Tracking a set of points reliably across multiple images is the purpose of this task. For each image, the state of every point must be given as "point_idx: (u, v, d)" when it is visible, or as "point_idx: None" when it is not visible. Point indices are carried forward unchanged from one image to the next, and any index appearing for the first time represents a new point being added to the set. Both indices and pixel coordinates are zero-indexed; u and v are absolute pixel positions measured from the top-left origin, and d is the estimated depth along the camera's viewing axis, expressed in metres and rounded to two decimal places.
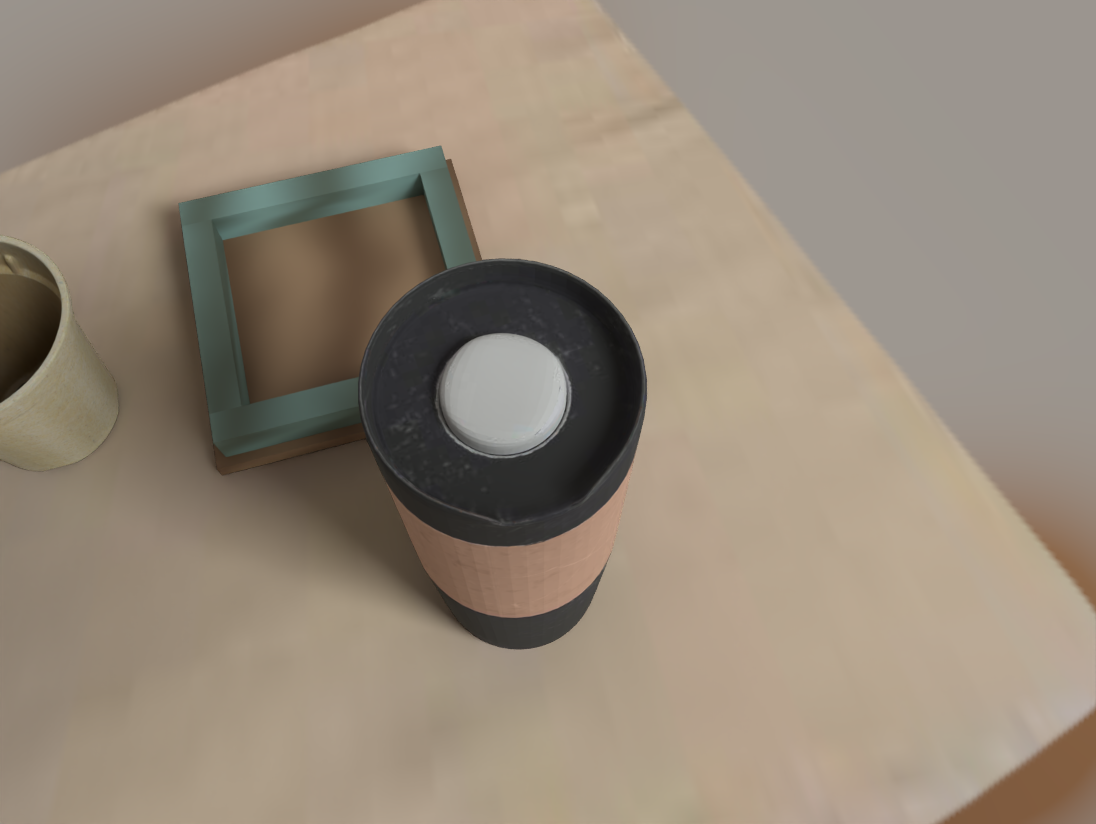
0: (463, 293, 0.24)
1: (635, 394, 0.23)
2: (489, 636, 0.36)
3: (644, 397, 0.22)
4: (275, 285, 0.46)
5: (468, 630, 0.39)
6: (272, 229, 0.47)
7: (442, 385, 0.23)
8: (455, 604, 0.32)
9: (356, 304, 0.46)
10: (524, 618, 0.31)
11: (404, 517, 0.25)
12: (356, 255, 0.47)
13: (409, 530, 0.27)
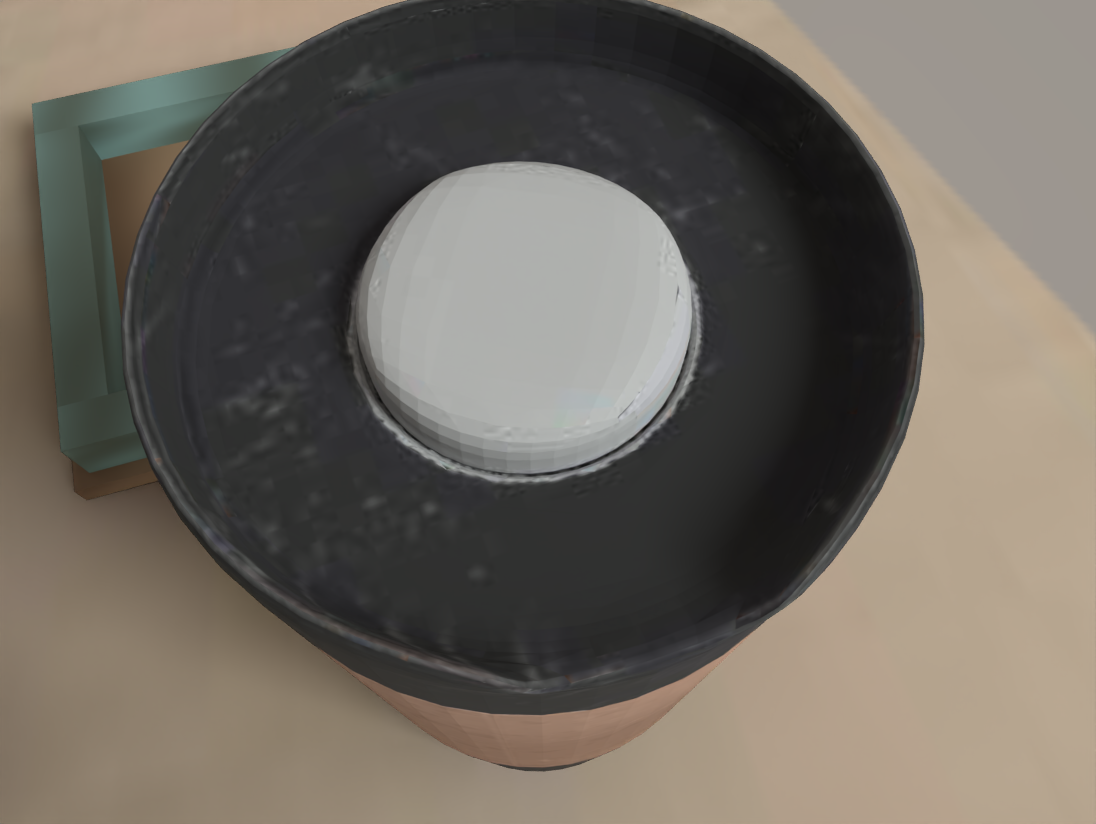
0: (423, 83, 0.10)
1: (874, 308, 0.09)
2: None
3: (922, 308, 0.08)
4: None
5: None
6: (173, 145, 0.33)
7: (361, 291, 0.09)
8: None
9: None
10: (558, 765, 0.17)
11: None
12: None
13: None
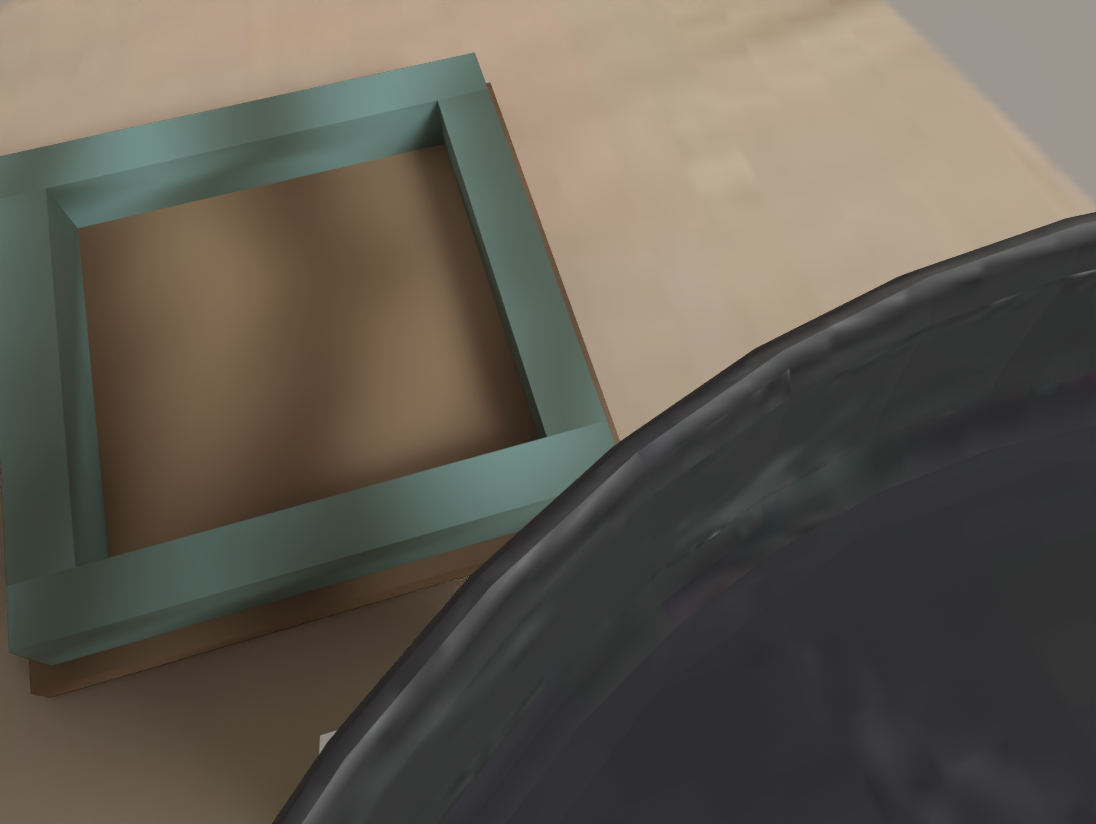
0: (931, 467, 0.03)
1: None
2: None
3: None
4: (171, 311, 0.25)
5: None
6: (169, 209, 0.26)
7: None
8: None
9: (321, 344, 0.24)
10: None
11: None
12: (322, 253, 0.25)
13: None
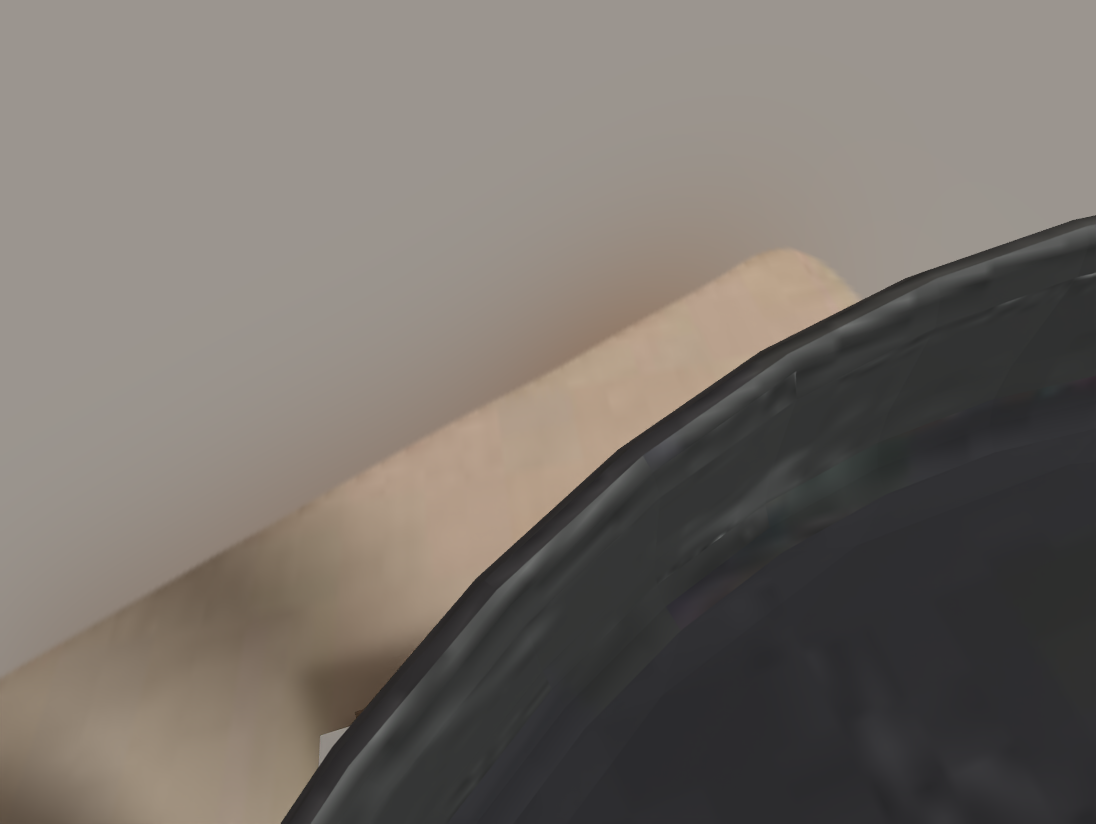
0: (935, 470, 0.03)
1: None
2: None
3: None
4: None
5: None
6: None
7: None
8: None
9: None
10: None
11: None
12: None
13: None
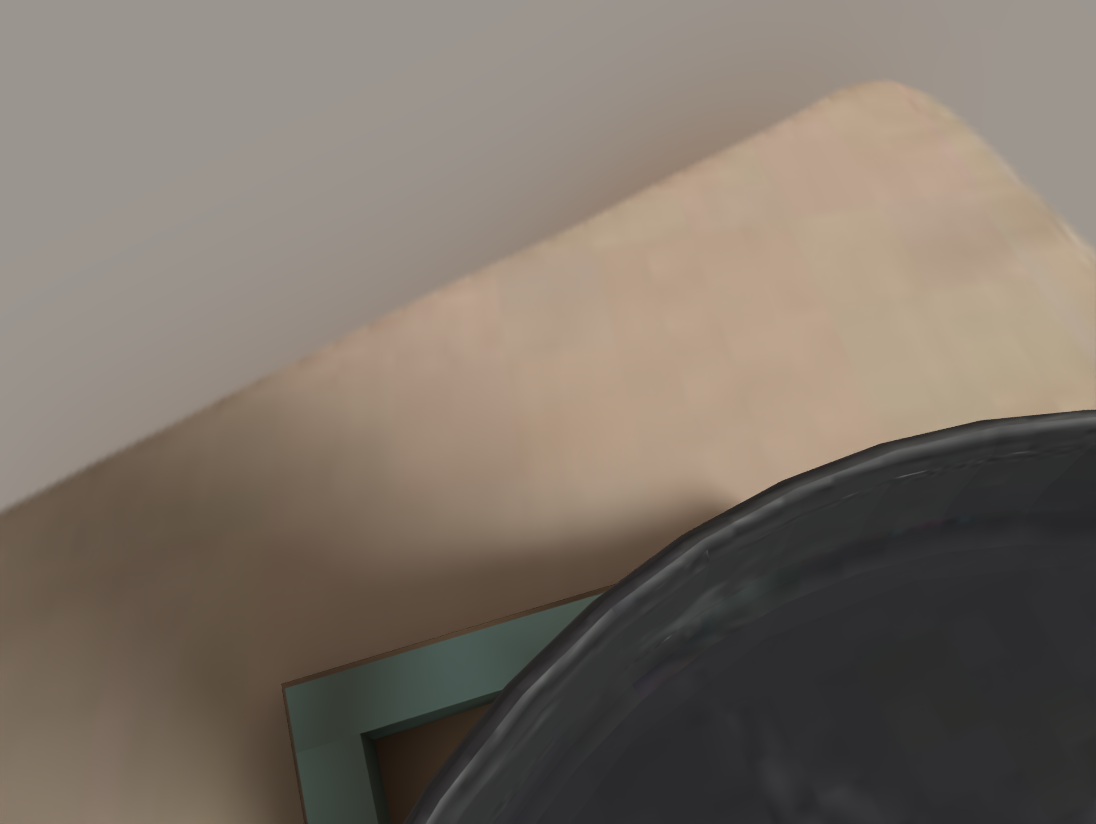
0: (819, 586, 0.04)
1: None
2: None
3: None
4: None
5: None
6: (477, 710, 0.22)
7: None
8: None
9: None
10: None
11: None
12: None
13: None
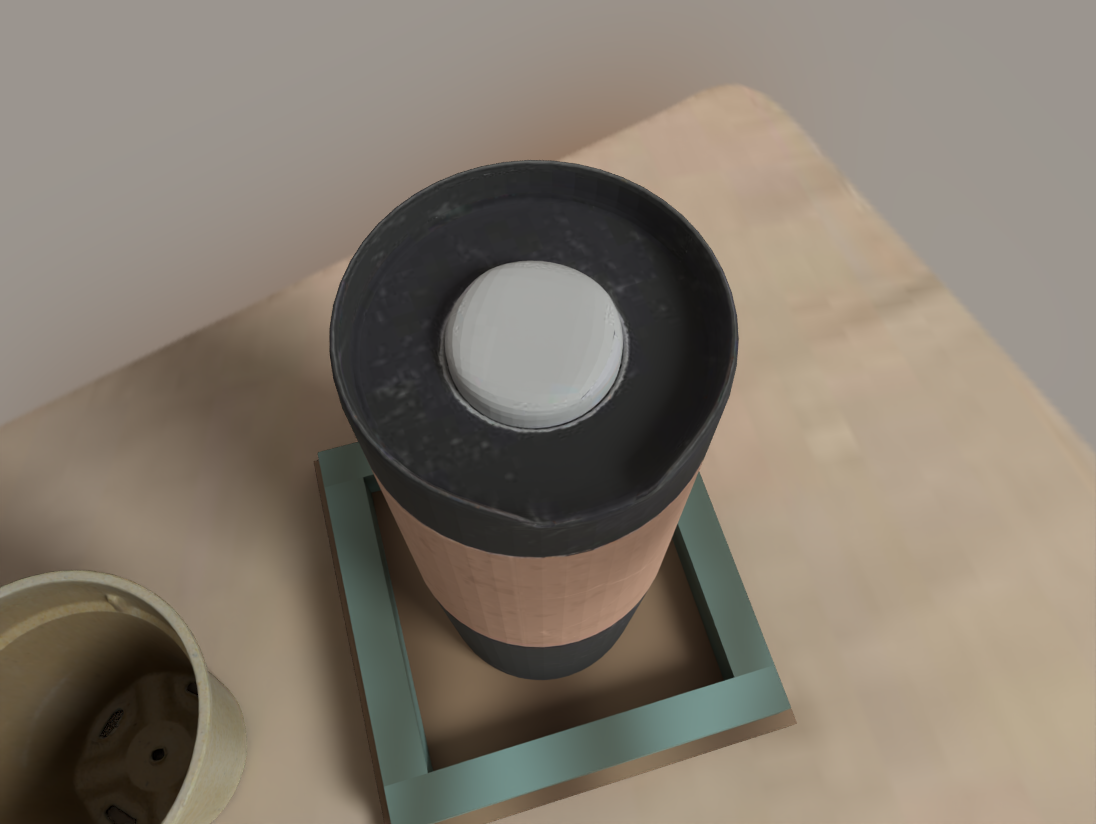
0: (477, 211, 0.18)
1: (719, 342, 0.16)
2: (507, 666, 0.30)
3: (736, 344, 0.16)
4: None
5: (480, 657, 0.32)
6: None
7: (449, 332, 0.16)
8: (465, 629, 0.26)
9: None
10: (553, 647, 0.25)
11: (398, 518, 0.19)
12: None
13: (405, 536, 0.20)
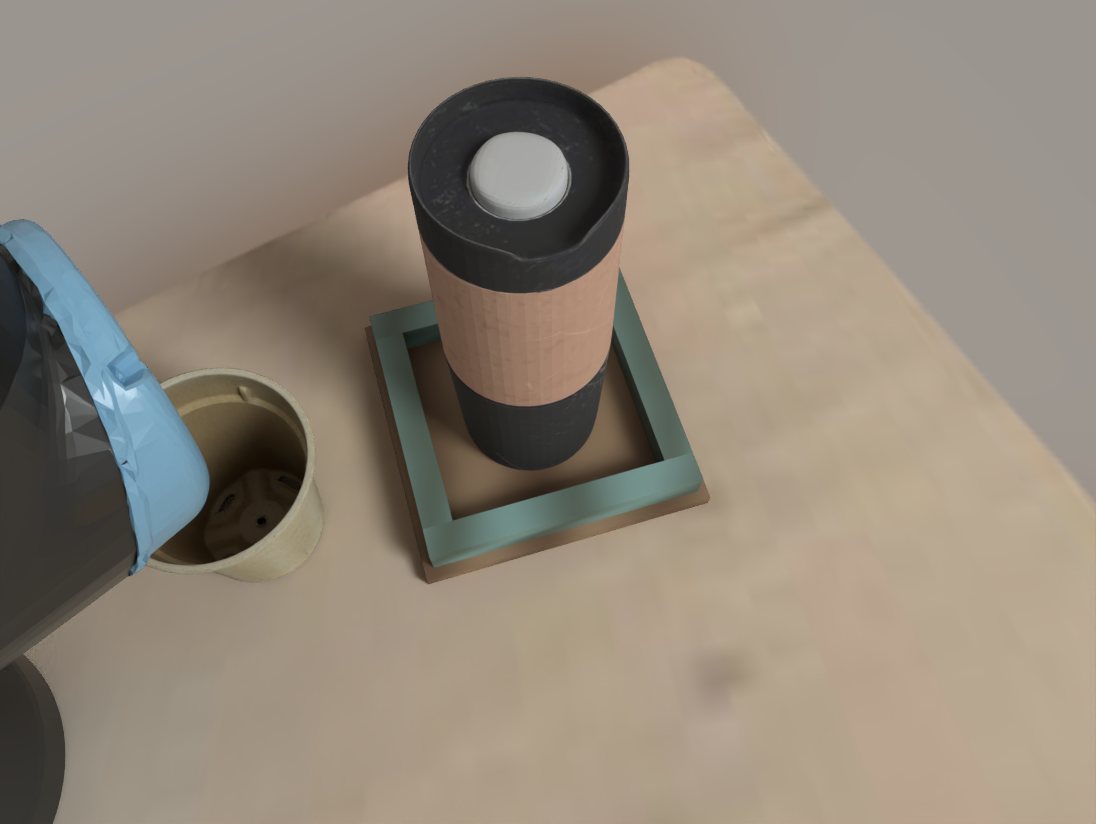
0: (486, 107, 0.31)
1: (620, 173, 0.30)
2: (506, 449, 0.43)
3: (627, 170, 0.29)
4: None
5: (487, 454, 0.46)
6: None
7: (472, 168, 0.30)
8: (479, 402, 0.39)
9: None
10: (536, 408, 0.38)
11: (441, 289, 0.32)
12: None
13: (444, 310, 0.34)
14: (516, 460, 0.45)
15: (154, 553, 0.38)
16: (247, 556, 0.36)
